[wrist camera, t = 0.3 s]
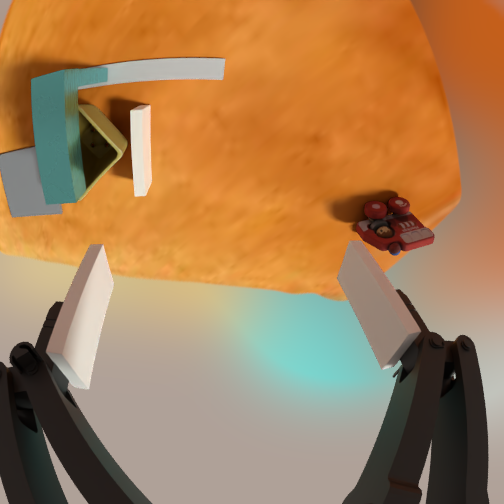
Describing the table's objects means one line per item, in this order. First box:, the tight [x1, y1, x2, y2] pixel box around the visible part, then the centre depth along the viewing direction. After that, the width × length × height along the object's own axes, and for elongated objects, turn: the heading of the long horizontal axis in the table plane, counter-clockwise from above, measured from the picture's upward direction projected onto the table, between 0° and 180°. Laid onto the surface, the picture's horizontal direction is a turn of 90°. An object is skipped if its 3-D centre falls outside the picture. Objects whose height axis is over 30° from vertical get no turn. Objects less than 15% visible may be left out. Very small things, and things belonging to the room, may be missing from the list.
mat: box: [0, 146, 63, 217], centre depth 33 cm, size 12×12×1 cm
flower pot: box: [78, 104, 128, 201], centre depth 29 cm, size 9×9×9 cm
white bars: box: [78, 58, 225, 196], centre depth 31 cm, size 18×24×5 cm
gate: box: [31, 68, 108, 205], centre depth 25 cm, size 14×4×14 cm, turn 174°
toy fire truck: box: [356, 197, 434, 255], centre depth 44 cm, size 7×12×10 cm, turn 100°
